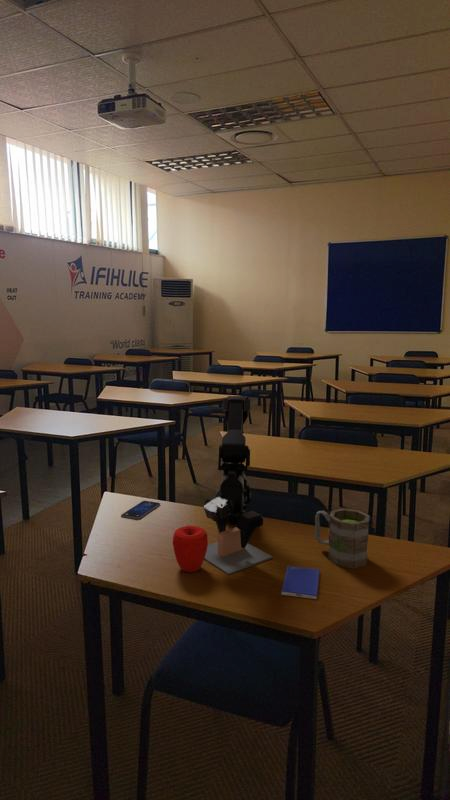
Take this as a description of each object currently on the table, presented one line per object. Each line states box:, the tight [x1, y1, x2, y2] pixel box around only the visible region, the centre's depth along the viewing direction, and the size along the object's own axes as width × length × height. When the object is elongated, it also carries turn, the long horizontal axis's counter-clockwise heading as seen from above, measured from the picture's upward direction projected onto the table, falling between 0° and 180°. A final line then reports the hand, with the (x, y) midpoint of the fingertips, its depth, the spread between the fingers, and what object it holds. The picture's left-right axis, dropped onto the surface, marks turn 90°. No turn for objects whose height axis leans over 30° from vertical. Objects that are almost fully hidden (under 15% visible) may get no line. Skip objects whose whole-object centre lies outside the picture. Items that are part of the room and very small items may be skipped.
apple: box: [172, 525, 209, 573], centre depth 129 cm, size 9×9×11 cm
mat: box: [204, 541, 273, 575], centre depth 137 cm, size 15×16×1 cm
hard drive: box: [280, 565, 321, 600], centre depth 122 cm, size 2×8×12 cm
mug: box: [314, 508, 371, 569], centre depth 136 cm, size 16×11×12 cm
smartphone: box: [120, 500, 161, 521], centre depth 168 cm, size 7×1×15 cm
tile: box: [217, 527, 245, 557], centre depth 138 cm, size 8×2×6 cm, turn 128°
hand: (232, 541), depth 138 cm, fingers open, 9 cm apart
